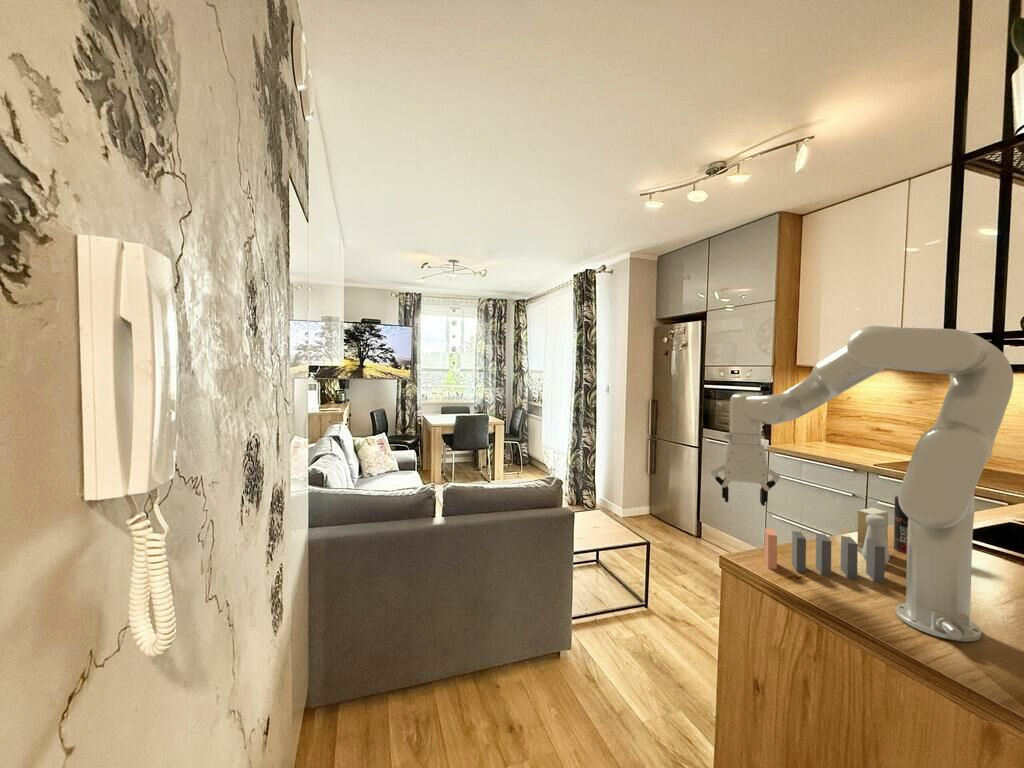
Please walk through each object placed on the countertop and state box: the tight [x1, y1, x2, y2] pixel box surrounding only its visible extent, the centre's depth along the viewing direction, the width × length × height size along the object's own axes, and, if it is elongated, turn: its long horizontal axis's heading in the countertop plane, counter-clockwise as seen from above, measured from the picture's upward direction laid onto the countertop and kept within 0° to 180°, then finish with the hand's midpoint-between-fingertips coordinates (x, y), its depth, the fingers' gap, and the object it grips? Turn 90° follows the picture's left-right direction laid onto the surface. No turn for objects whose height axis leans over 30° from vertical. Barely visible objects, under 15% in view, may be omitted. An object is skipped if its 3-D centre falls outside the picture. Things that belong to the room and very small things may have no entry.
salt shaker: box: [861, 514, 891, 566], centre depth 119 cm, size 6×6×13 cm
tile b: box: [815, 533, 832, 577], centre depth 115 cm, size 5×2×9 cm, turn 159°
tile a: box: [791, 530, 807, 574], centre depth 116 cm, size 5×2×9 cm, turn 159°
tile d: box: [865, 539, 886, 584], centre depth 111 cm, size 5×2×9 cm, turn 160°
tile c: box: [840, 535, 858, 580], centre depth 113 cm, size 5×2×9 cm, turn 160°
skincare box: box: [857, 507, 889, 554], centre depth 126 cm, size 6×4×12 cm
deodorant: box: [893, 495, 908, 555], centre depth 127 cm, size 6×6×15 cm
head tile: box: [764, 528, 778, 570], centre depth 119 cm, size 5×2×9 cm, turn 159°
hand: (744, 502), depth 121 cm, fingers open, 8 cm apart
